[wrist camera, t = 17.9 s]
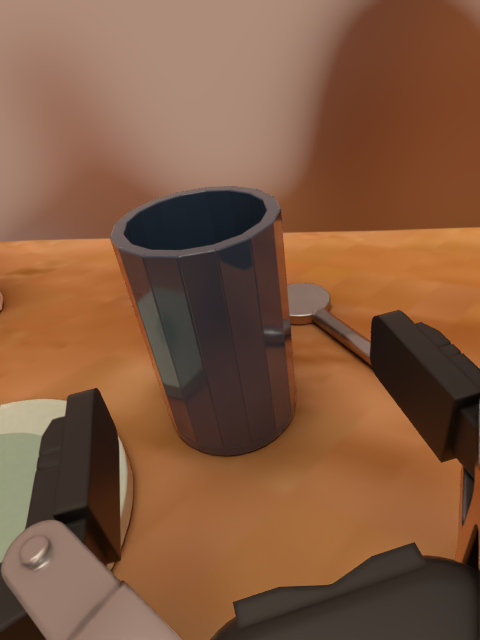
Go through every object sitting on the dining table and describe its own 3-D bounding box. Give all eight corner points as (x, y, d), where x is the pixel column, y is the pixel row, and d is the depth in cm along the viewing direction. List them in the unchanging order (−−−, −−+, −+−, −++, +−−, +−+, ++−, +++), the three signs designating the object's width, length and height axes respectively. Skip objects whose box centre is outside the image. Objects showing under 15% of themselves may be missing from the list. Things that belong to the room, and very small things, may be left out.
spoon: (461, 477, 17) (465, 461, 16) (259, 305, 29) (258, 292, 28) (525, 432, 18) (531, 416, 18) (307, 284, 30) (306, 272, 29)
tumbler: (203, 480, 18) (140, 277, 13) (155, 394, 23) (94, 217, 17) (321, 415, 20) (314, 214, 15) (255, 348, 25) (230, 175, 19)
